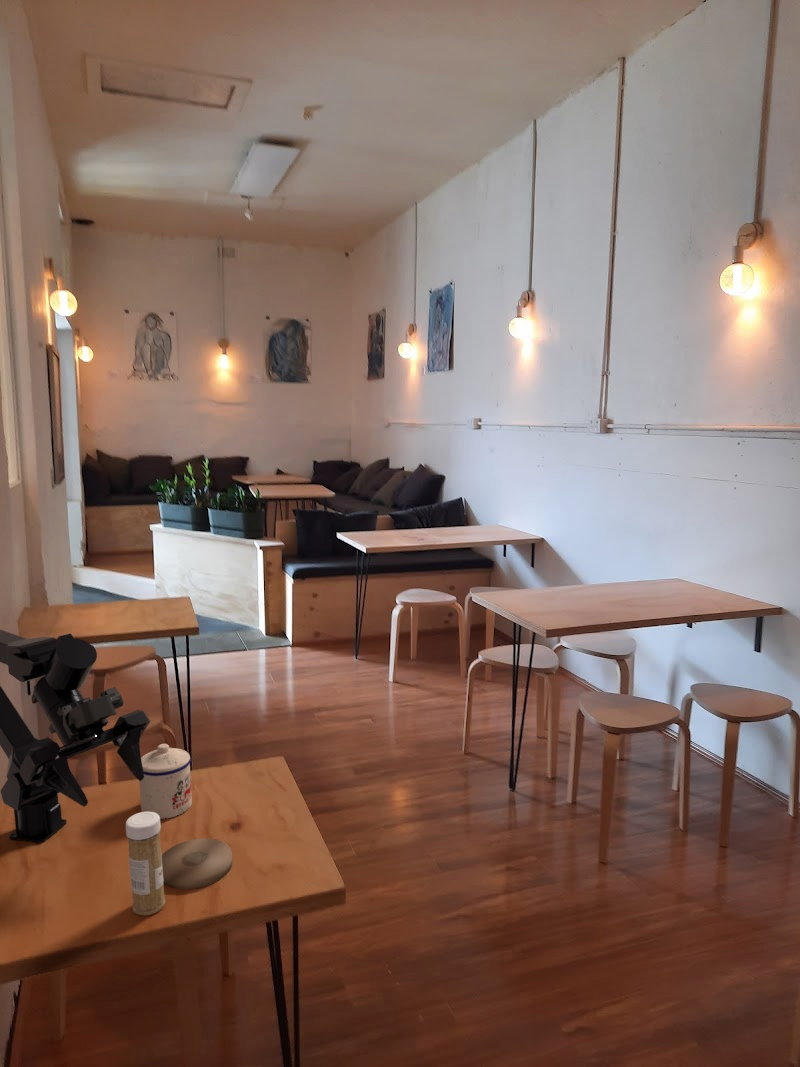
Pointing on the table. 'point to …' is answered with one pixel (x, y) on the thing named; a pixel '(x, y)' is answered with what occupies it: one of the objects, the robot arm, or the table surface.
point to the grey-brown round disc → (196, 863)
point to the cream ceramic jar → (166, 782)
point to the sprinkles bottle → (145, 862)
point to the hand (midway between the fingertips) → (115, 791)
